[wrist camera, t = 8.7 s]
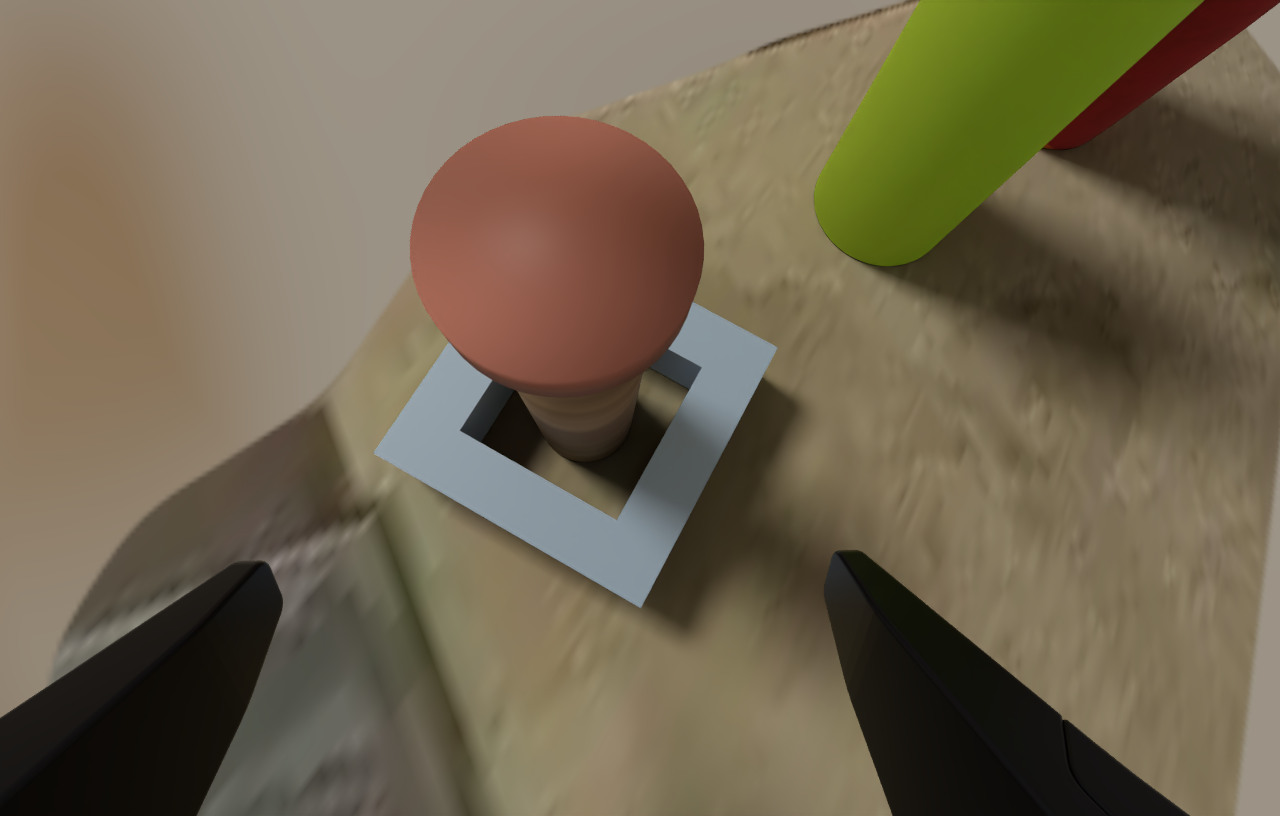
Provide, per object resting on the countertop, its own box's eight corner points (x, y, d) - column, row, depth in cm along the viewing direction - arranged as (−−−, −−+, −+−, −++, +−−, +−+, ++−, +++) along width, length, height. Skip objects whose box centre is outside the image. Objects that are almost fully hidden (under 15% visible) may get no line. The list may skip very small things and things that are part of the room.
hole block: (636, 599, 21) (640, 608, 18) (404, 465, 22) (373, 453, 19) (756, 371, 23) (777, 347, 21) (543, 256, 24) (534, 216, 21)
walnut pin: (648, 477, 22) (710, 381, 9) (522, 478, 22) (398, 382, 9) (645, 357, 23) (698, 119, 10) (525, 357, 23) (420, 112, 10)
